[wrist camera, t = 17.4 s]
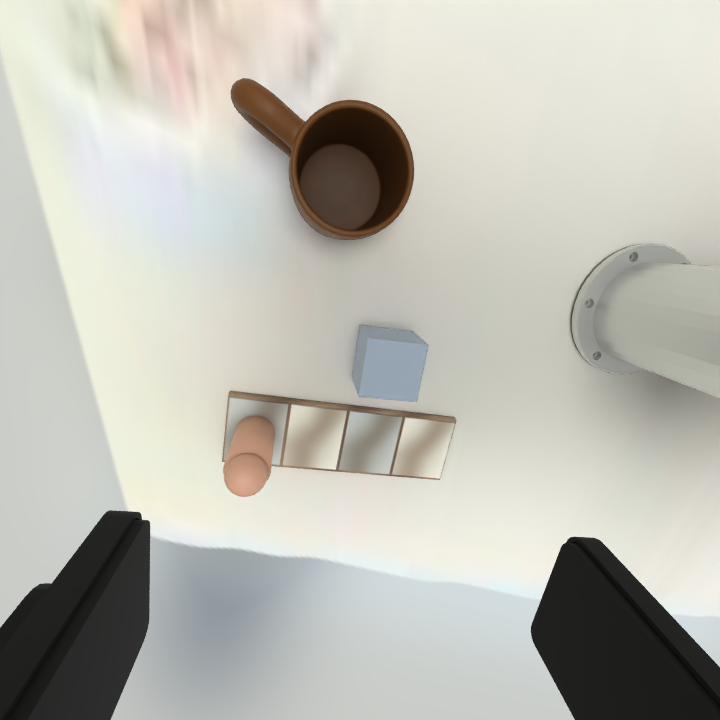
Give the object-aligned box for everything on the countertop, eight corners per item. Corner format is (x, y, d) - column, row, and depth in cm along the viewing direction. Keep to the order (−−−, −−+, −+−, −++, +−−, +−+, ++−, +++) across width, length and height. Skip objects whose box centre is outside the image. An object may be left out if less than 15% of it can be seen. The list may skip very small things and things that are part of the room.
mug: (224, 167, 30) (190, 137, 21) (275, 74, 28) (262, 0, 20) (352, 257, 33) (370, 264, 24) (403, 178, 32) (442, 155, 23)
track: (454, 417, 39) (457, 420, 38) (437, 476, 41) (440, 481, 40) (229, 391, 35) (228, 394, 34) (223, 458, 37) (221, 462, 36)
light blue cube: (412, 330, 36) (428, 345, 31) (402, 380, 37) (416, 401, 33) (359, 324, 35) (368, 338, 30) (351, 376, 36) (358, 396, 32)
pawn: (279, 420, 36) (274, 471, 28) (269, 453, 37) (261, 512, 29) (240, 411, 35) (224, 461, 27) (230, 445, 36) (212, 503, 28)
